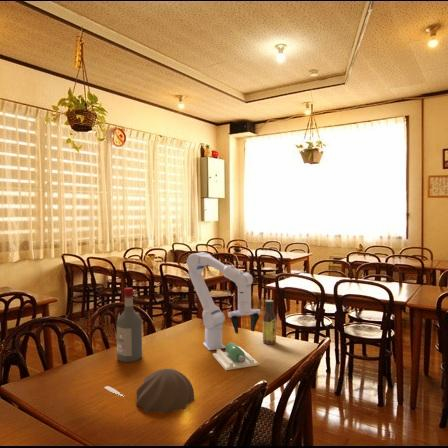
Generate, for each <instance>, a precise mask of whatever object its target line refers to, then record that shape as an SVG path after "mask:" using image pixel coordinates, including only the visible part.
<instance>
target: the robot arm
mask: <svg viewBox="0 0 448 448" xmlns="http://www.w3.org/2000/svg"><path fill="white" fill-rule="evenodd" d="M186 264H187V267H188V276H189V278H190V280H191V283H192V286H193V288H194V291H195V292H196V294H197V297H198V300H199V301H200V302H199V303H200V304H201V307H202V309H203V311H202V315H201V316H202V320H203V323H202V324H203V325H204V327H205V329H204V342H202V344H203V345H204V347H205V348H206V349H207V350H208V351H213V350H217V349H221V350H222V349H225V347H226V345H224V344H223V324H224V323H225V320H226V316H225V314H224V312H222V311H221V309H220V307H219V306H217V305H216V304H215V301H214V300H213V298H212V296H211V295H212V294H211V293H210V290H209V288H208V286H207V284H206V282H205V279H204V277H203V275H202V273H203V271H204V269H205V268H206V266H209V267H211V268H213V269H215V270H217V271H219V272H221V273H222V274H223V277H224V278H226V279H229V280H230V281H232V282H233V283H234V284H235V286H236V287H237V310H233V311H228V312H227V317H228V318H230V321H231V323H232V325H233V329H234V333H235V334H236V335H237V334H239V321H240V320H239V318H238V317H242V316H245V317H246V316H250V317H249V318H250V331H251V332H255V329H256V325H257V323H258V321H259V319H260V315H261V309H259V308H252V284H253V282H254V277H253V276H252V274H251V273H250V272H248V271H246V272H244V271H243V270H242V269H241V270H240V269H238V268H236V266H235V265H234V264H228V265H225V264H224V263H223V262H221V261H220V260H218V259H217V258H215V257H214V256H213V255H211V254H210V253H208V252H205V251H201V252H196V253H191V254H189V255H188V257H187V259H186Z"/></svg>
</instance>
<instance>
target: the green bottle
mask: <svg viewBox="0 0 448 448" xmlns="http://www.w3.org/2000/svg"><path fill="white" fill-rule="evenodd" d="M239 347H240V346H239ZM239 347H238V345H236V343H235V342H233V341H232V342H228V343H226V344H225V348H224V350H225V351H224V352H227V353H228V354H229V355H230V356H231V358H232V359H233V360H234V361H235V362H238V363H239V362H241V363H243V362H245V353H244V352H243V351H242V350H241V349H240V348H239Z"/></svg>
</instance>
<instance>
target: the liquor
mask: <svg viewBox="0 0 448 448" xmlns="http://www.w3.org/2000/svg"><path fill="white" fill-rule="evenodd" d="M123 291H124V293H123V296H124V310H123V311H122V313H121V314H120V315H119V316H118V318H117V319H116V323H115V326H116V358H117V360H118V361H120V362H123V363H134V362H136V361H138V360H140V359H142V356H143V328H142V327H143V326H142V325H143V324H142V323H143V321H142V320H143V319H142V317H141V315H139V314H138V313H137V312H136V311H135V309H134V299H133V298H134V288H133V287H124V288H123Z"/></svg>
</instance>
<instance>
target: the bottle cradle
mask: <svg viewBox="0 0 448 448" xmlns="http://www.w3.org/2000/svg"><path fill="white" fill-rule="evenodd" d="M237 346H238V345H237ZM238 347H239V348H240V349H241V350H242V351H243V352H244V353H245V362H243V363H241V362H239V363H238V362H235V361H234V360H233V359H232V358H231V356H230V355H229V354H228V353H227V352H226V351H223V350H222V349H216V352H213V353H212V357H214V359H215V360H216V361H217V362H218V363H219V365H220V366H221V367H222V368H223V369H224V370H225V371H229V370H236V369H242V368H247V367H248V368H250V367H254V366H259V362H258V361H257V360H256V359H254V357H252V356H251V355H250V354H249V353H248V352H247V351H246V350H244V348H242V347H241V346H238Z"/></svg>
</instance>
